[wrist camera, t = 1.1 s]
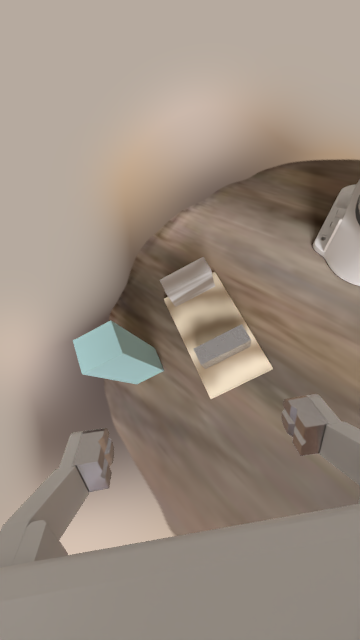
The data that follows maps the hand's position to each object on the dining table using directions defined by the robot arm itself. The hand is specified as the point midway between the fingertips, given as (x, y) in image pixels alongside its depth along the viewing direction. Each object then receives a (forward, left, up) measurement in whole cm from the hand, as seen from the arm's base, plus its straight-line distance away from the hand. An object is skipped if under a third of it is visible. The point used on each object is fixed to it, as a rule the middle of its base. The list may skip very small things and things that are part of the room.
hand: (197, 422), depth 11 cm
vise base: (-12, -7, -35) cm, 37 cm away
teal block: (-2, -18, -35) cm, 39 cm away
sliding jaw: (-9, -4, -33) cm, 35 cm away
